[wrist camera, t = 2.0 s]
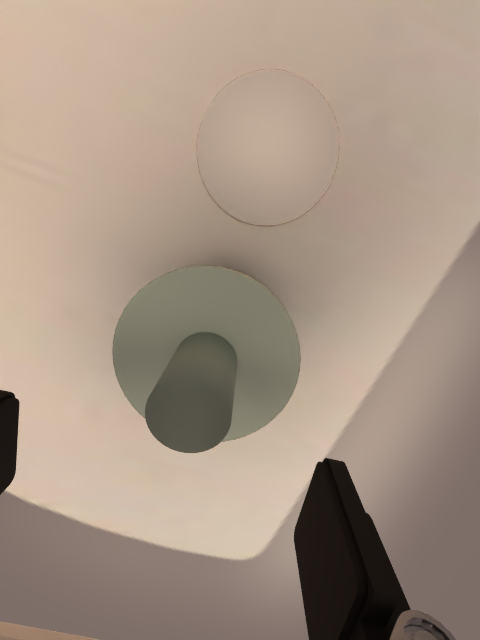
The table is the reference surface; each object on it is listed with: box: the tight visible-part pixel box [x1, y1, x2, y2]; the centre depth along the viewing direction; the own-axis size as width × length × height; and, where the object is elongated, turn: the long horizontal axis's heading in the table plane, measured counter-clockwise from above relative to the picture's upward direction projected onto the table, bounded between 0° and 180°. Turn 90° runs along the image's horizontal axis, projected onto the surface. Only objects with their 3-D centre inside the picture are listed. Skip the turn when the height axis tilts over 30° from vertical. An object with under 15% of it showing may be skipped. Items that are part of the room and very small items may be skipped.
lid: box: [113, 265, 301, 453], centre depth 15 cm, size 10×10×6 cm
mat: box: [197, 69, 339, 226], centre depth 24 cm, size 10×10×1 cm
